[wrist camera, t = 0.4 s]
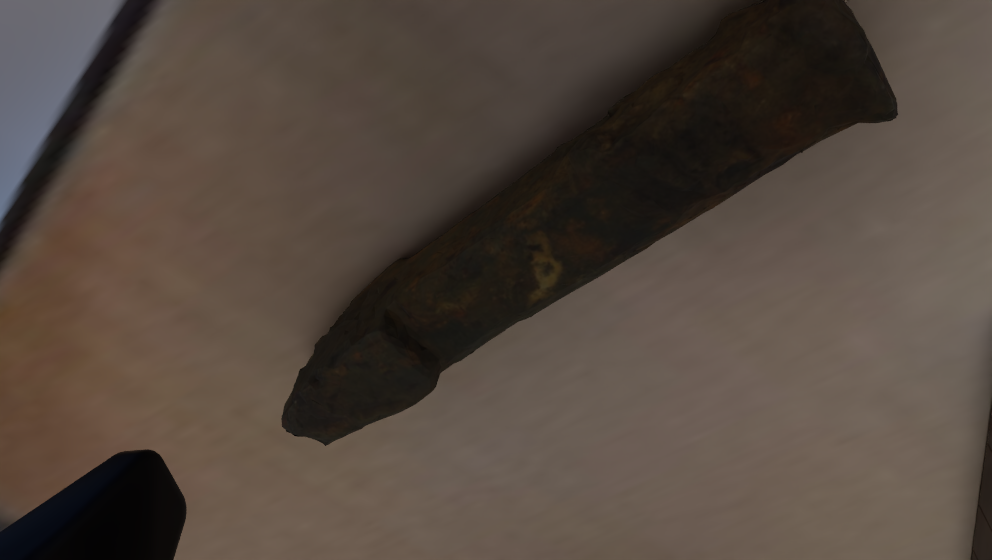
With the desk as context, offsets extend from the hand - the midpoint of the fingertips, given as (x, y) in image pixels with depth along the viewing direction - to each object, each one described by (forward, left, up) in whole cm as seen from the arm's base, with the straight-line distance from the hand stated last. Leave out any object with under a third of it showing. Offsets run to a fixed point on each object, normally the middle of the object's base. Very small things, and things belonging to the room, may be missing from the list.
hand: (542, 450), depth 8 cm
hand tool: (-5, +2, -14) cm, 15 cm away
